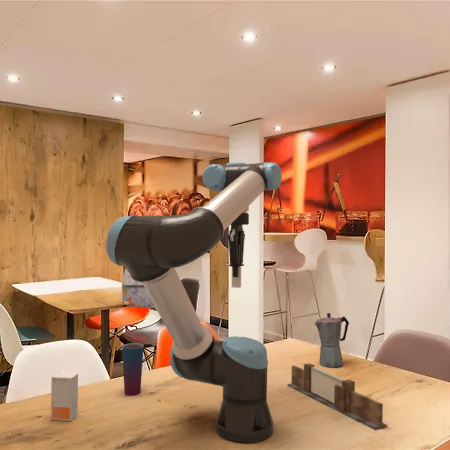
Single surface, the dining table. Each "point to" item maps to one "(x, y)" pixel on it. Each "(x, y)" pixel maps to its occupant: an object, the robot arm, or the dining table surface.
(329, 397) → the beige flat panel
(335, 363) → the moka pot
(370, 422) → the fence
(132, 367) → the cup
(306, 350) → the dining table surface
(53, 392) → the skincare box
